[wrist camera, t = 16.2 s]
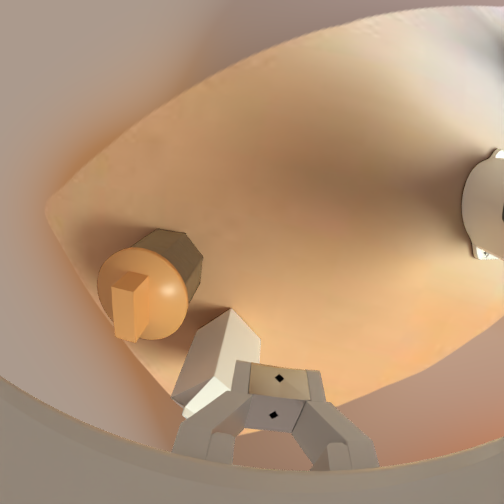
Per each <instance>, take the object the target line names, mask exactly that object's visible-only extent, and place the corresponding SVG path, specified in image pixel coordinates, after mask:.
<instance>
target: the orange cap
mask: <svg viewBox="0 0 504 504" xmlns="http://www.w3.org/2000/svg"><path fill="white" fill-rule="evenodd" d="M97 289H98V295H99V299H100V302H101V304H102V306H103V308H104V310H105V312H106V313H107V315H108V316H109V317H110V319H111V320H112V321H113V322H114V330H115V337H116V338H120V339H123V340H126V341H130V342H133V343H136V341H137V340H138V338H142V339H148V340H157V339H162V338H165V337H168V336H170V335H171V334H173V333H174V332H175V331H176V330H177V329H178V328H179V327H180V326H181V324H182V322H183V320H184V318H185V316H186V313H187V310H188V292H187V289H186V286H185V283H184V281H183V279H182V277H181V275H180V274H179V272H178V271H177V269H176V268H175V267H174V266H173V265H172V264H171V263H170V262H169V261H168V260H167V259H165V258H164V257H163V256H161V255H159V254H158V253H156V252H154V251H151V250H148V249H145V248H138V247H131V248H125V249H123V250H120V251H118V252H116V253H115V254H113V255H112V256H111V257H109V258H108V259H107V260H106V261H105V262H104V264H103V265H102V267H101V269H100V271H99V275H98V280H97Z"/></svg>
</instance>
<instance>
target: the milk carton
mask: <svg viewBox="0 0 504 504" xmlns="http://www.w3.org/2000/svg"><path fill="white" fill-rule="evenodd" d="M260 345H261V339H260V338H259V337H258V336H257V335H256V334H255V333H254V332H253V331H252V330H251V328H250V327H249V326H248V325H247V324H246V323H245V322H244V321H243V320H242V319H241V318H240V317H239V315H238V314H237V313H236V312H235V311H234V310H233V309H232V308H231V309H229V310H228V311H226V312H225V313H223V314H222V315H220V316H219V317H217V318H216V319H214V320H213V321H211V322H209V323H208V324H206V325H205V326H203V327H202V328H200V329H199V330H197V332H196V334H195V337H194V339H193V342H192V344H191V347H190V349H189V352H188V354H187V357H186V359H185V362H184V364H183V367H182V369H181V372H180V375H179V377H178V380H177V382H176V385H175V387H174V390H173V393H172V395H171V399H172V400H174V401H175V402H176V403H177V404H179V405H180V406H181V407H182V408H183V412H182V415H183V416H184V417H185V418H186V419H188V418H189V417H191V416H192V415H193V414H195V413H196V412H198V411H199V410H201V409H202V408H203V407H205V406H206V405H208V404H209V403H210V402H212V401H213V400H214V399H216V398H217V397H219V396H220V395H221V394H223V393H224V392H225V391H231V385H232V380H233V374H234V369H235V364H236V360H241V361H247V362H250V363H251V362H253V363H259V362H260Z"/></svg>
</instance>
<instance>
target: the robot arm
mask: <svg viewBox="0 0 504 504" xmlns="http://www.w3.org/2000/svg"><path fill="white" fill-rule="evenodd" d="M462 216H463V222H464V226H465V229H466V231H467V233H468V235H469V237H470V239H471V241H472V248H473V254H474V257H475V258H477V259H479V260H487V259H501V260H503V261H504V151H503V150H501V149H496V150H495V151H494V152H493V154H492V155H491V157H490V158H488V159H487V160H484V161H482V162H480V163H479V164H477V165H476V166H475V167H474V169H473V170H472V171H471V173H470V175H469V176H468V179H467V181H466V184H465V187H464V191H463V197H462ZM484 251H485V252H484ZM244 428H250V429H260V430H270V431H278V432H287V433H292V435H293V437H294V438H295V440H296V441H297V443H298V444H299V445H300V447H301V448H302V449H303V451H304V453H305V454H306V455H307V457H308V458H309V459H310V461H311V462H312V463H313V467H312V468H311V469H310V471H294V470H275V469H264V468H254V467H245V466H238V465H232V461H233V452H234V444H235V437H237V436H238V434H239V433H240V432H241V431H242V430H243V429H244ZM0 504H504V437H501V438H498V439H496V440H493V441H490V442H488V443H485V444H482V445H479V446H476V447H473V448H470V449H466V450H463V451H459V452H456V453H452V454H448V455H445V456H440V457H436V458H432V459H427V460H423V461H418V462H412V463H406V464H400V465H393V466H386V467H380V466H379V463H378V459H377V455H376V451H375V448H374V444H373V441H372V440H371V439H370V438H369V437H368V436H366V435H365V434H364V433H363V432H362V431H361V430H360V429H359V428H357V427H356V426H355V425H354V424H353V423H352V422H351V421H350V420H349V419H348V418H346V417H345V416H344V415H343V414H342V413H341V412H340V411H339V410H338V409H337V408H336V407H335V406H334V405H333V404H332V403H330V402H326V398H325V393H324V388H323V383H322V378H321V373H320V371H317V370H302V369H293V368H284V367H277V366H271V365H265V364H259V363H253V362H251V363H250V362H247V361H241V360H236V364H235V369H234V374H233V380H232V385H231V391H225V392H224V393H223V394H221V395H220V396H219V397H217V398H216V399H214V400H213V401H212V402H210V403H209V404H208V405H206V406H205V407H203V408H202V409H201V410H199V411H198V412H196V413H195V414H193V415H192V416H191V417H189V418H188V419H186V420H185V421H183V422H182V423H181V424H180V427H179V430H178V433H177V436H176V440H175V443H174V446H173V449H172V452H167V451H164V450H161V449H157V448H153V447H150V446H147V445H143V444H141V443H137V442H134V441H131V440H128V439H126V438H123V437H120V436H117V435H115V434H112V433H109V432H107V431H104V430H101V429H99V428H97V427H94V426H92V425H90V424H87V423H85V422H82V421H80V420H78V419H76V418H74V417H72V416H70V415H68V414H65V413H63V412H61V411H59V410H57V409H55V408H54V407H52V406H50V405H48V404H46V403H44V402H42V401H41V400H39V399H37V398H35V397H33V396H32V395H30V394H28V393H26V392H25V391H23V390H21V389H20V388H18V387H17V386H15V385H14V384H12V383H10V382H9V381H7V380H6V379H4V378H3V377H1V376H0Z"/></svg>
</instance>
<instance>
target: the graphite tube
mask: <svg viewBox="0 0 504 504" xmlns="http://www.w3.org/2000/svg"><path fill="white" fill-rule="evenodd" d="M131 247H138V248H145V249H148V250H151V251H154V252H156V253H158V254H159V255H161V256H163V257H164V258H165V259H167V260H168V261H169V262H170V263H171V264H172V265H173V266H174V267H175V268H176V269H177V271H178V272H179V274H180V275H181V277H182V279H183V281H184V283H185V286H186V289H187V292H188V305H189V303H190V301H191V299H192V297H193V295H194V293H195V292H196V290H197V288H198V286H199V284H200V278H201V268H202V259H203V256H202V255H201V253H200V252H199V251H198V250H197V248H196V247H195V246H194V244H193V243H192V242H191V240H190V239H189V238H188V237H187V235H186V234H185V233H180V232H174V231H168V230H162V229H156V230H155V231H153V232H152V233H150V234H149V235H147V236H146V237H144V238H143V239H142V240H140V241H139V242H137V243H136V244H134V245H133V246H131ZM131 247H130V248H131Z"/></svg>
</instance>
